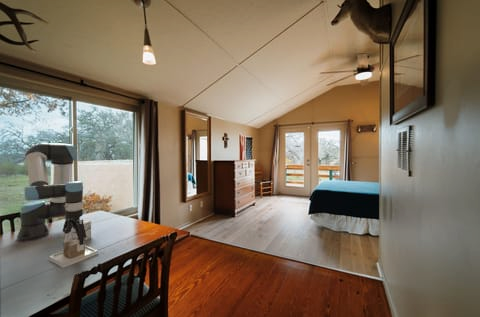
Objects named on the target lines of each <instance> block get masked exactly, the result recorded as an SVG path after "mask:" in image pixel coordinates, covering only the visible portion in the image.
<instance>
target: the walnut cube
mask: <svg viewBox="0 0 480 317" xmlns="http://www.w3.org/2000/svg"><path fill="white" fill-rule="evenodd" d="M62 244H63V247H62V248H63V249H62V251H63V256H65V257H67V258H69V259H71V258H74V257H76V256H79V255H82V254H84V253H85V245H86V240H84V250H81V251H77V239H75V240H73V239H71V241H69V242H66V243H65V242H63V243H62Z"/></svg>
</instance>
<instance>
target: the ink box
mask: <svg viewBox="0 0 480 317" xmlns="http://www.w3.org/2000/svg"><path fill="white" fill-rule="evenodd" d="M83 224H84V228H85V232H86V236H87V237H86V238H84V241H87V240H89V239H91V238H92V220H87V219H86V220H84V219H83ZM72 230H73V231H72V232H73V233H72V238H73V239H72V240H75V239H78V236H77V234H76V231H75V229H73V228H72Z"/></svg>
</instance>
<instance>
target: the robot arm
mask: <svg viewBox="0 0 480 317" xmlns="http://www.w3.org/2000/svg"><path fill="white" fill-rule="evenodd" d="M24 160H25V163H26V164H27V169H28V170H27V171H28V173H27V174H28V184H29V185H28V186H25V187H24V200H25V201H26V202H27V201H28V202H27V203H25V204H23V205H22V206H21V207H20V212H19V214H20V228H19V230H18V233H17V236H16V241H18V242H29V241H35V240H39V239H42V238H44V237H47V236H48V235H49V234H50V230H49V227H48V226H47V224H46V220H49V219H56V218H57V219H58V218H61V217H63V218H64V217H65V218H64V220H65V221H64V224H63V228H62V232H63V233H64V243H66V242H69V241H72V232H73V231H72V230H73V229H75V231H76V234H77V236H78V239H77V251H81V250H84V241H85V240H84V238H86V237H87V236H86V232H85V228H84V224H83V221H84V219H81V217H82V216H83V214H84V209H83V208H84V183H83V181H80V180H79V181H77V180H75V181H70V179H71V178H70V177H71V175H70V174H71V165H73V164H74V161H77V152H76V148H75V145H73V144H71V143H69V144H68V143H51V142H50V143H48V142H43V143H38V144H35V145H33V146H32V147H30V148H29V149H28V150H27V151H26V152H25V154H24ZM47 161H48V162H49V161H50V164H51V165H52V166H53V183H52V184H49V177H48V172H47V171H48V170H47V164H46V162H47ZM47 199H49V201H47V202H46V201H45V200H47ZM29 201H31V202H29Z"/></svg>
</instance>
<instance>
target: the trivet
mask: <svg viewBox="0 0 480 317" xmlns="http://www.w3.org/2000/svg"><path fill="white" fill-rule="evenodd" d="M98 254H99V250H98V249H96V248H93V247H90V246H88V245H86V244H85V253H84V254H82V255H79V256H76V257H74V258H71V259H69V258H67V257H65V256H63V250H62V251H60V252H57V253H53V254H51V255H49V256H48V261H50V262H52V263H53V264H56V265H57V266H58V267H61V268H63V269H64V268H67V267H69V266H72V265H74V264H77V263H79V262H81V261H83V260H84V261H85V260H86V259H89V258H91V257H94V256H96V255H98Z"/></svg>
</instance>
